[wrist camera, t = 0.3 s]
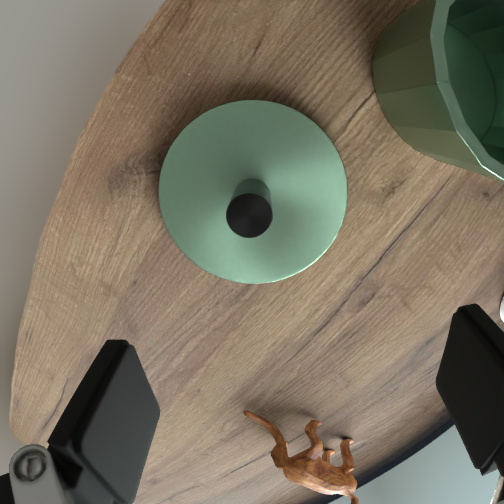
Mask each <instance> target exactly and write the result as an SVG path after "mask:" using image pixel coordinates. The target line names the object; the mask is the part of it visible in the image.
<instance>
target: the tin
mask: <svg viewBox="0 0 504 504" xmlns="http://www.w3.org/2000/svg"><path fill="white" fill-rule="evenodd" d="M372 74H373V83H374V89H375V92H376V96H377V99H378V102H379V104H380V107H381V109H382V111H383V113H384V115H385V117H386V119H387V120H388V122H389V123H390V125H391V126H392V128H393V129H394V130H395V131H396V133H397V134H398V135H399V136H400V137H401V138H402V139H403V140H404V141H405V142H406V143H407V144H408V145H410V146H411V147H412V148H413V149H415V150H417V151H419V152H420V153H422V154H424V155H426V156H429V157H431V158H433V159H435V160H437V161H440V162H444V163H447V164H450V165H454V166H457V167H460V168H463V169H466V170H470V171H473V172H476V173H479V174H482V175H485V176H487V177H490V178H493V179H496V180H499V181H501V182H504V0H421V1H419V2H418V3H416V4H415V5H413V6H412V7H410V8H409V9H407V10H406V11H405V12H403V13H402V14H400V15H399V16H397V17H396V19H395V20H394V21H393V22H392V23H391V24H389V25H388V26H387V27H386V28H385V30H384V31H383V32H382V33H381V35H380V37H379V39H378V41H377V44H376V47H375V50H374V55H373V63H372Z"/></svg>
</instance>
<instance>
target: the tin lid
mask: <svg viewBox="0 0 504 504" xmlns="http://www.w3.org/2000/svg"><path fill="white" fill-rule="evenodd" d="M347 194H348V187H347V178H346V173H345V169H344V165H343V162H342V160H341V158H340V155H339V153H338V151H337V149H336V147H335V146H334V144H333V142H332V141H331V140H330V138H329V137H328V136H327V134H326V133H325V132H324V131H323V130H322V129H321V128H320V127H319V126H318V125H317V124H316V123H315V122H314V121H312V120H311V119H310V118H308V117H307V116H305V115H304V114H302V113H300V112H298V111H297V110H295V109H293V108H290V107H288V106H285V105H282V104H279V103H275V102H270V101H264V100H240V101H235V102H230V103H226V104H223V105H220V106H217V107H215V108H213V109H211V110H209V111H207V112H205V113H203V114H201V115H200V116H198V117H197V118H196V119H194V120H193V121H192V122H191V123H189V124H188V125H187V126H186V127H185V128H184V129H183V130H182V131H181V133H180V134H179V135H178V136H177V137H176V139H175V140H174V142H173V143H172V145H171V147H170V148H169V150H168V152H167V155H166V157H165V159H164V162H163V165H162V169H161V172H160V179H159V203H160V210H161V213H162V217H163V220H164V223H165V225H166V228H167V230H168V232H169V234H170V236H171V237H172V239H173V241H174V242H175V244H176V245H177V246H178V248H179V249H180V250H181V251H182V252H183V253H184V254H185V255H186V256H187V257H188V258H189V259H190V260H191V261H192V262H193V263H195V264H196V265H197V266H199V267H200V268H202V269H203V270H205V271H207V272H209V273H211V274H213V275H215V276H217V277H220V278H223V279H226V280H229V281H234V282H239V283H250V284H254V283H267V282H274V281H278V280H281V279H285V278H287V277H290V276H292V275H295V274H297V273H298V272H300V271H302V270H304V269H306V268H307V267H308V266H310V265H311V264H312V263H314V262H315V261H316V260H317V259H318V258H319V257H320V256H321V255H323V254H324V252H325V251H326V250H327V249H328V247H329V246H330V245H331V244H332V242H333V240H334V239H335V237H336V236H337V234H338V231H339V229H340V227H341V225H342V222H343V219H344V215H345V212H346V206H347Z"/></svg>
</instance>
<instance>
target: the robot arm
mask: <svg viewBox="0 0 504 504" xmlns="http://www.w3.org/2000/svg"><path fill="white" fill-rule="evenodd" d="M436 387H437V390H438V392H439V394H440V396H441V398H442V400H443V402H444V404H445V406H446V407H447V409H448V411H449V414H450V416H451V418H452V420H453V422H454V424H455V426H456V428H457V430H458V432H459V434H460V436H461V438H462V440H463V443H464V445H465V447H466V449H467V452H468V454H469V456H470V458H471V461H472V463H473V465H474V467H475V468H476V469H480V472H481V474H482V476H483V475H486V474H488V473H490V472H492V471H494V470H496V469H497V468H498V470H499V472H500V476H499V480H498V483H497V486H496V489H495V492H494V495H493V498H492V501H491V503H490V504H504V332H503V331H502V330H501V329H500V328H499V327H498V326H497V325H496V323H495V322H494V321H493V320H492V319H491V318H490V317H489V316H488V315H487V314H486V313H485V312H484V310H483V309H482V308H481V307H480V306H479V305H477V304H470V305H465V306H461V307H459V308H458V309H457V312H456V313H454V314H453V317H452V321H451V325H450V330H449V334H448V338H447V342H446V346H445V349H444V353H443V357H442V360H441V364H440V367H439V370H438V374H437V377H436ZM159 416H160V408H159V405H158V402H157V400H156V398H155V396H154V394H153V391H152V389H151V387H150V384H149V382H148V380H147V377H146V375H145V372H144V370H143V368H142V365H141V363H140V360H139V358H138V355H137V353H136V350H135V348H134V346H133V345H129V343H128V341H127V340H107V341H106V342H105V344H104V345H103V347H102V348H101V350H100V352H99V353H98V355H97V356H96V358H95V360H94V361H93V363H92V365H91V366H90V368H89V369H88V371H87V373H86V374H85V376H84V378H83V379H82V381H81V383H80V384H79V386H78V388H77V390H76V391H75V393H74V395H73V396H72V398H71V400H70V402H69V403H68V405H67V407H66V409H65V410H64V412H63V414H62V416H61V417H60V419H59V421H58V423H57V425H56V426H55V428H54V430H53V432H52V434H51V436H50V437H49V439H48V441H47V442H48V443H49V446H48V448H47V449H46V448H45V447H43V446H41V445H37V444H31V445H26V446H24V447H22V448H20V449H19V450H18V451H17V452H16V453H15V454H14V455H13V457H12V458H11V461H10V464H9V473H7V474H4V475H2V476H0V504H132V503H133V502H134V500H135V497H136V493H137V490H138V486H139V483H140V479H141V476H142V472H143V469H144V466H145V462H146V459H147V456H148V452H149V449H150V446H151V442H152V439H153V436H154V433H155V429H156V426H157V423H158V420H159Z"/></svg>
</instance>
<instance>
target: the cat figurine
mask: <svg viewBox="0 0 504 504" xmlns="http://www.w3.org/2000/svg"><path fill="white" fill-rule="evenodd" d="M244 415H245V416H246V417H248V418H250V419H252V420H254V421H256V422H258V423H259V424H261V425H262V426H264V427H265V428H266V429H267V430H269V431H270V432H271V434H272V435H273V436H274V438H275V441H276V443H277V445H276V446H275V447H274V448H273V450H272V452H271V457H272V458H273V461H274V463H275V466H276V467H277V468H279V469H281V470H283V472H284V475H285V477H286V478H287V479H289V480H290V481H292V482H294V483H298V484H300V485H302V486H305V487H308V488H310V489H313V490H315V491H318V492H320V493H323V494H335V493H338V494H342V495H346V496H347V497H349V498H350V499H351V504H358V502H359V501H358V498H357V497H356V496H355V495H354V491H355V489H356V487H357V481H356V480H355V479H354V477H353V475H352V474H351V473H350V471H352V470H353V469H354V468H355V466H354V462H353V457H352V455H351V452H350V448H349V445H350V443H352V442H353V440H352V439H345V440H344V441H342V442H341V444H340V447H341V454H342V457H343V465H342V467H335V466H333V465H331V464H330V460H329V457H330V455H333V454H334V453H335V452H334V451H333V450H327V451H326V452H324V453H323V455H322V459H321V458H320V457H319V455H320V454H321V452H322V451H323V444H322V442H321V440H320V438H319V437H318V436H317V435H316V434H315V431H316V429H317V427H318V425H321V424H322V423H321V422H320V421H318V420H311V421H310V422H309V423H308V424H307V425H306V427H305V432H306V434H307V435H308V437H309V439H310V441H311V444H312V445H311V447H310V448H308V449H306V450H304V451H302V452H300V453H298V454H297V455H295V456H292V457H290V458H289V457H288V454H287V446H288V445H289V444H288V442H287V441H285V440H284V438H283V436H282V434H281V433H280V431H279V430H278V429H277V427H276V426H275V425H273V424H272V423H271V422H270V421H268V420H267V419H265V418H263V417H261V416H259V415H257V414H255V413H252V412H250V411H244Z"/></svg>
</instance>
